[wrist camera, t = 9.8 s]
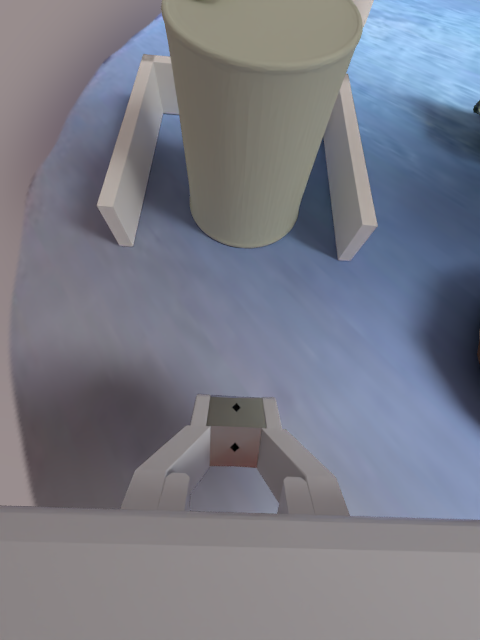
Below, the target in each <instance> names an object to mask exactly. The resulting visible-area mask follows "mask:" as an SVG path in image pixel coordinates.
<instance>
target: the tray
mask: <svg viewBox="0 0 480 640" xmlns="http://www.w3.org/2000/svg"><path fill="white" fill-rule="evenodd" d="M163 113H166V114H178V115H179V109H178V103H177V96H176V90H175V83H174V77H173V70H172V64H171V57H167V56H157V55H146V54H143V57H142V60H141V63H140V67H139V70H138V73H137V76H136V80H135V83H134V86H133V89H132V93H131V96H130V99H129V102H128V106H127V109H126V112H125V115H124V119H123V122H122V125H121V128H120V132H119V135H118V138H117V141H116V144H115V148H114V151H113V154H112V157H111V161H110V164H109V167H108V170H107V174H106V177H105V180H104V183H103V187H102V190H101V193H100V196H99V200H98V203H97V207H98V209H99V211H100V212H101V214H102V216H103V218H104V219H105V221H106V223H107V224H108V226H109V228H110V230H111V231H112V233H113V235H114V237H115V238H116V240H117V242H118V244H119V245H120V246H130V247H133V245H134V240H135V236H136V231H137V227H138V222H139V218H140V214H141V209H142V205H143V200H144V196H145V191H146V187H147V183H148V178H149V174H150V169H151V165H152V160H153V156H154V151H155V147H156V143H157V138H158V134H159V129H160V125H161V120H162V116H163ZM323 138H324V146H325V155H326V163H327V172H328V180H329V188H330V197H331V205H332V214H333V222H334V231H335V239H336V248H337V256H338V260H343V261H351V260H352V258H353V257H354V256H355V254H356V253H357V252H358V251H359V249H360V248H361V247H362V245H363V244H364V243H365V241H366V240H367V239H368V238H369V236H370V235H371V234H372V232H373V231H374V230H375V229H376V227H377V226H378V225H377V220H376V215H375V210H374V205H373V200H372V195H371V189H370V184H369V179H368V174H367V169H366V164H365V159H364V153H363V148H362V143H361V138H360V133H359V128H358V123H357V118H356V112H355V107H354V102H353V97H352V92H351V87H350V82H349V76H348V74H345V77H344V80H343V82H342V85H341V88H340V90H339V93H338V96H337V99H336V102H335V104H334V107H333V110H332V113H331V116H330V119H329V121H328V124H327V127H326V130H325V133H324V136H323Z"/></svg>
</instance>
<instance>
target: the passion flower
mask: <svg viewBox="0 0 480 640" xmlns="http://www.w3.org/2000/svg"><path fill="white" fill-rule="evenodd" d="M473 110H474V112H475V113H477V114H479V115H480V100H479V101H478V102H477V104H476V105H475V106H474V109H473Z"/></svg>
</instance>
